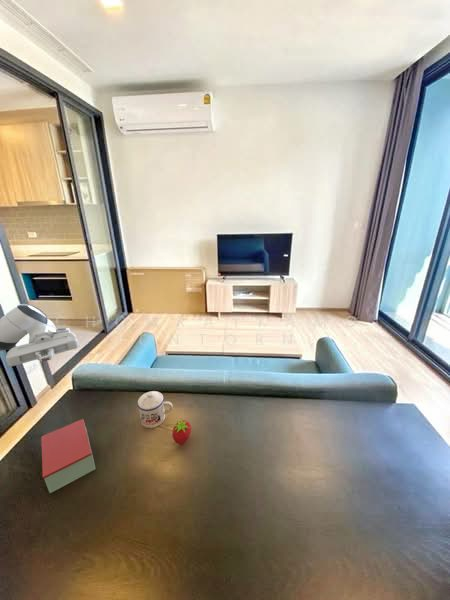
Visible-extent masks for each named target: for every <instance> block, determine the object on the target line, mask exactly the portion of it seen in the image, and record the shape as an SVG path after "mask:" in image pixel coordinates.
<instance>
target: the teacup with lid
mask: <svg viewBox="0 0 450 600" xmlns="http://www.w3.org/2000/svg"><path fill="white" fill-rule="evenodd" d="M164 400H165V398H164V395H163V394H162V393H161V392H160V391H156V390H152V391H148V392H145V393H143V394H142V395H141V396H140V397H139V398H138V399H137V407H138V410H139V411H138V412H139V417H140V423H141V425H142V426H143V427H145V428H147V429H153V428H154V429H155V428H156V427H159V426H160V425H162V424H163V423H164V421H165V419H166V415H167V414H170V413H171V412H172V411H173V403H172V402H171V401H164ZM165 405H166V406H169V407H170V408H169V409H167V410H165Z"/></svg>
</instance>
